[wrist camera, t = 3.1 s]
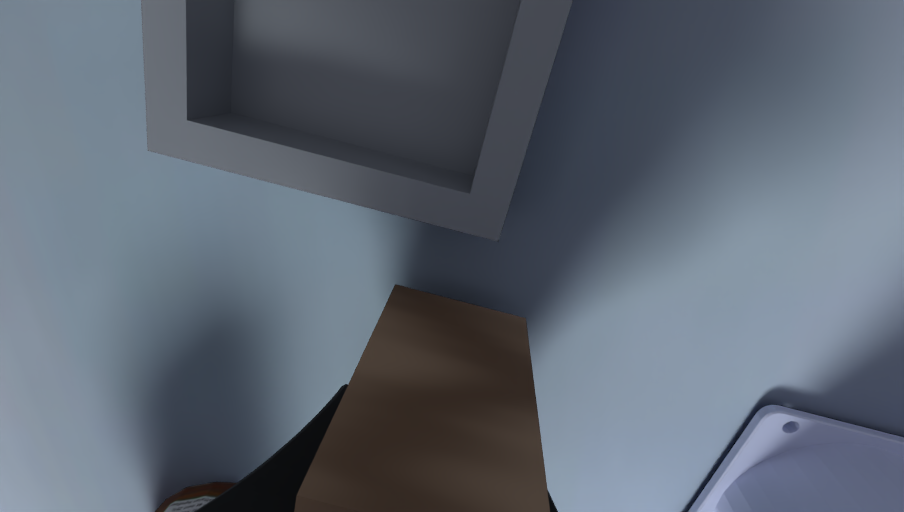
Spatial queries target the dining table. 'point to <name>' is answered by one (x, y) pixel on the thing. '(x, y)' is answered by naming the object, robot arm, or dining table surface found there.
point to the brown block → (434, 417)
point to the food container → (194, 497)
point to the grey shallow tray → (356, 97)
